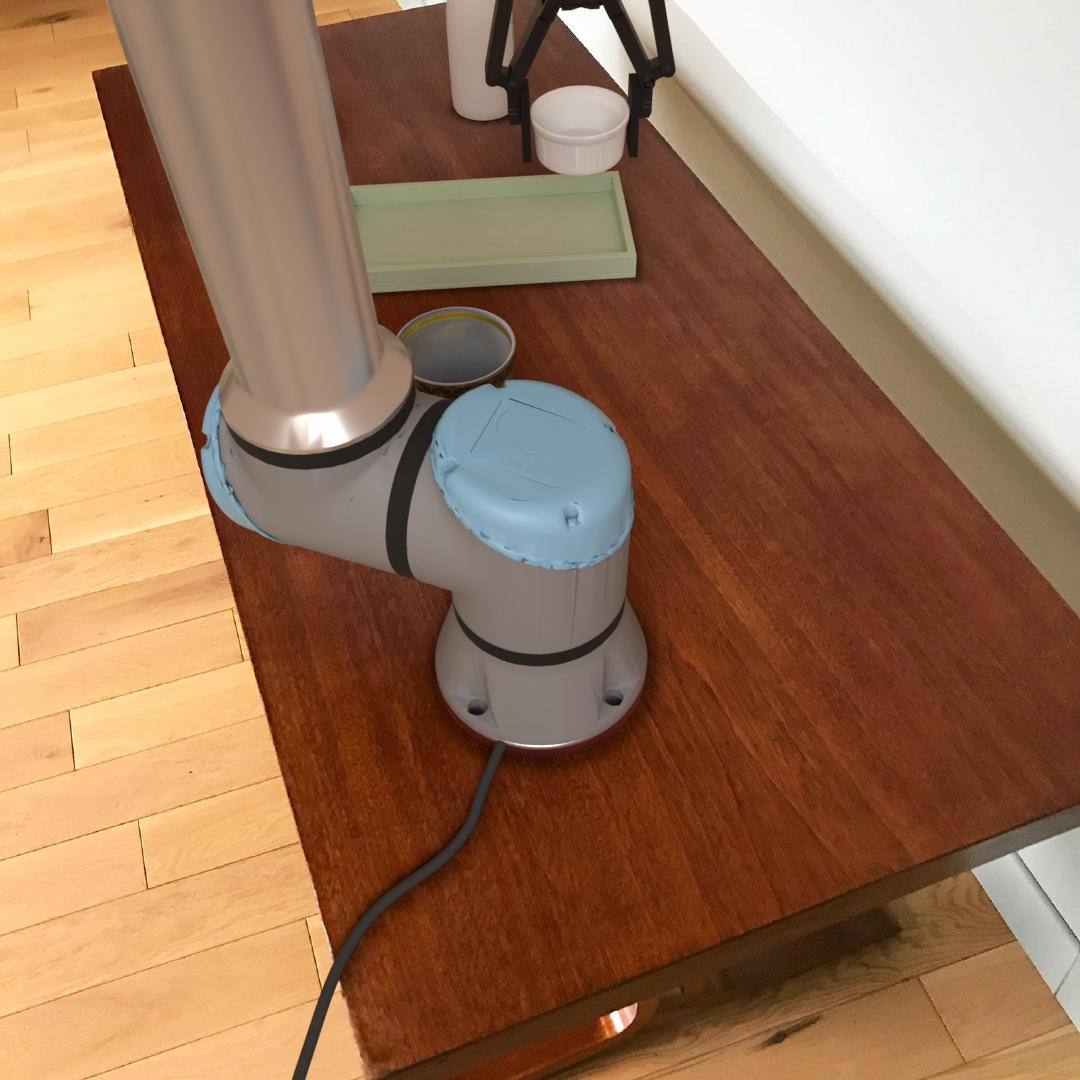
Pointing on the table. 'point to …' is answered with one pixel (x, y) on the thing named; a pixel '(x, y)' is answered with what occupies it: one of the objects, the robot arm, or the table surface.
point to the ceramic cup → (459, 350)
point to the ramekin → (579, 129)
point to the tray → (494, 231)
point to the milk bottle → (474, 59)
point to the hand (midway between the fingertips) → (579, 151)
